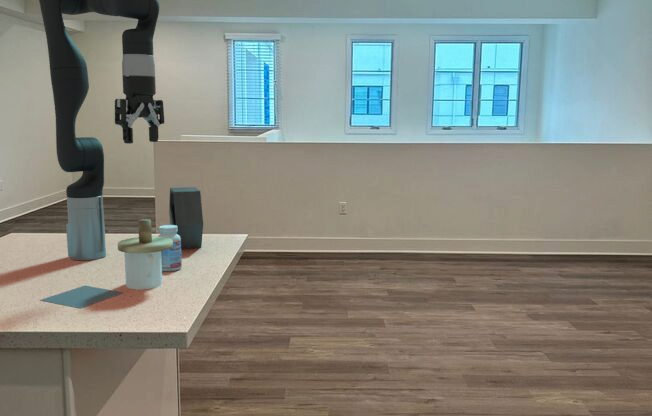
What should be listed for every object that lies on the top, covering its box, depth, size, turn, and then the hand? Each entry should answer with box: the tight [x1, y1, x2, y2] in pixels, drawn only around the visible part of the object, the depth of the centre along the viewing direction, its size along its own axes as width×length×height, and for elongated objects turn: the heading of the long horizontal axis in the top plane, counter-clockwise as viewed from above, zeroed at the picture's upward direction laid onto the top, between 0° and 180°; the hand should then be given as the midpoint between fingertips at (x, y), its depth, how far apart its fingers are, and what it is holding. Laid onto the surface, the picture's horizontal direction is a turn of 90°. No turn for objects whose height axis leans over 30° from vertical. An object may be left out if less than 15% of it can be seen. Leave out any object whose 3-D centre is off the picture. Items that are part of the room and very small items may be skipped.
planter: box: [168, 186, 204, 250], centre depth 177 cm, size 17×8×21 cm
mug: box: [123, 251, 163, 290], centre depth 133 cm, size 8×12×10 cm
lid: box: [117, 218, 173, 253], centre depth 132 cm, size 12×12×6 cm
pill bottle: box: [157, 224, 183, 272], centre depth 150 cm, size 6×6×11 cm
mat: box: [39, 285, 125, 310], centre depth 126 cm, size 12×12×1 cm
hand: (141, 142), depth 143 cm, fingers open, 8 cm apart
